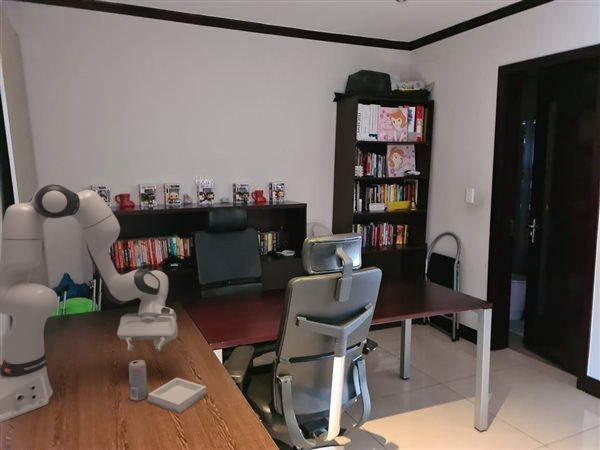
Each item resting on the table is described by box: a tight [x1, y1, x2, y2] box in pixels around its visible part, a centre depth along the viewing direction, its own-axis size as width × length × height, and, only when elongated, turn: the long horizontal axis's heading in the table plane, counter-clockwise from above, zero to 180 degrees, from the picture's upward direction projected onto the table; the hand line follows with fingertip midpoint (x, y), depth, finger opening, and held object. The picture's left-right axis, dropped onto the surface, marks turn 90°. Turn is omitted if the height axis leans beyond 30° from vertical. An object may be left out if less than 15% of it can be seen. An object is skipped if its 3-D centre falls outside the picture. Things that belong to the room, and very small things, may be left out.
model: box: [153, 339, 173, 347], centre depth 197 cm, size 3×11×8 cm, turn 161°
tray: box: [147, 377, 207, 414], centre depth 151 cm, size 13×13×3 cm
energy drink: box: [128, 359, 148, 402], centre depth 151 cm, size 5×5×12 cm
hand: (144, 350), depth 158 cm, fingers open, 8 cm apart
